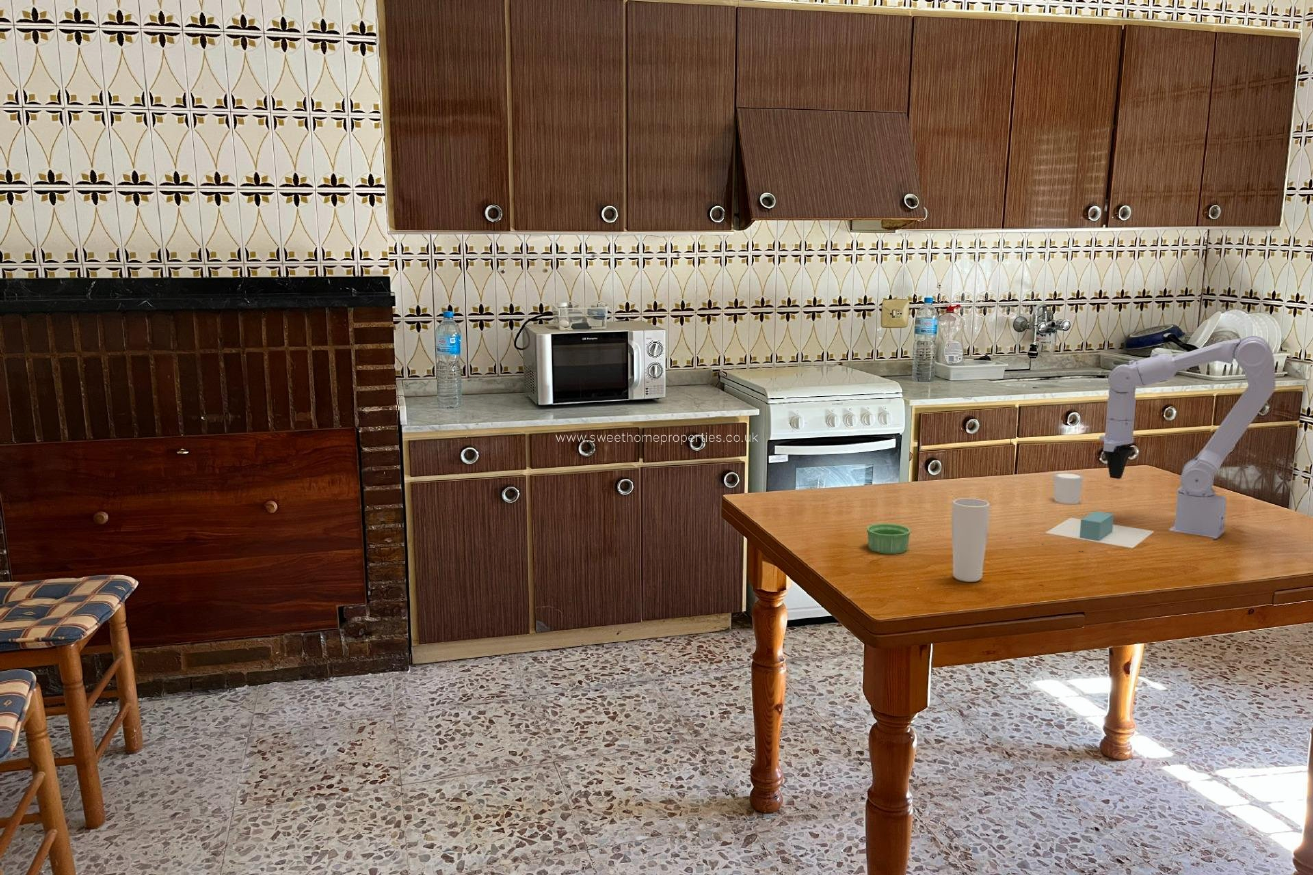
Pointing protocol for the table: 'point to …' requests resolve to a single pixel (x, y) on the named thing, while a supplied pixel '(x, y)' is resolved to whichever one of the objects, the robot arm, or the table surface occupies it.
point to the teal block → (1096, 525)
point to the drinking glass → (969, 537)
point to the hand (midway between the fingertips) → (1115, 477)
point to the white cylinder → (1067, 488)
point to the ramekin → (888, 538)
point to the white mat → (1116, 537)
